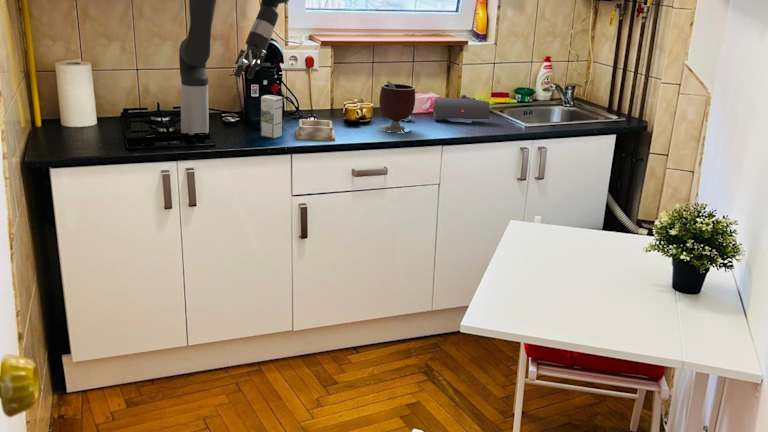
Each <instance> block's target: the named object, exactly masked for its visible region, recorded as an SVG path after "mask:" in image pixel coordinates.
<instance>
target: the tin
mask: <svg viewBox="0 0 768 432" xmlns="http://www.w3.org/2000/svg"><path fill="white" fill-rule="evenodd" d="M351 103H363V104H364V99H363V98H355V99H354V100H352V101H351V102H350V104H351Z"/></svg>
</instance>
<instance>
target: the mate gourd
mask: <svg viewBox="0 0 768 432" xmlns="http://www.w3.org/2000/svg"><path fill="white" fill-rule="evenodd" d="M415 89H416V87H415V86H414V85H410V84H406V83H405V84H404V83H392V82H391V81H389V80H387V82H386V83H383V84H382V85H381V88H380V93H379V98H378V99H379V109H380V112H381V114H382V115H383V117H385V118H387V119H389V120H390V121H391V124H384V125H380V126H379V130H380V129H382V130H385V131H391V132H402V131H403V132H405V131H404V129H405V127H403V126H404V125H401V123H400V122H402V121H401V120H404V119H406V118H408V117H409V116H410V117H411V115H412V114H413V112H414V109H415V106H416V90H415ZM400 125H401V126H400ZM401 130H402V131H401Z"/></svg>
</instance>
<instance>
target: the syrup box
mask: <svg viewBox="0 0 768 432" xmlns="http://www.w3.org/2000/svg"><path fill="white" fill-rule="evenodd" d="M282 123H283V96H278V95H272V94H265V95H262V96H261V97H260V136H261V137H265V138H270V139H277V138H280V137H282V132H283V131H282V130H283V129H282V128H283V126H282V125H283V124H282Z"/></svg>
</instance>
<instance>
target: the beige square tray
mask: <svg viewBox="0 0 768 432" xmlns="http://www.w3.org/2000/svg"><path fill="white" fill-rule="evenodd" d="M298 125H299V127H296V129H295V130H296V131H295V132H296V135H295V139H296V140H311V141H312V140H313V141H331V140H335V141H336V136H335V129H334V128H333V121H332V120H325V119H324V120H323V119H305V118H303V119H300V118H299V123H298Z"/></svg>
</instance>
